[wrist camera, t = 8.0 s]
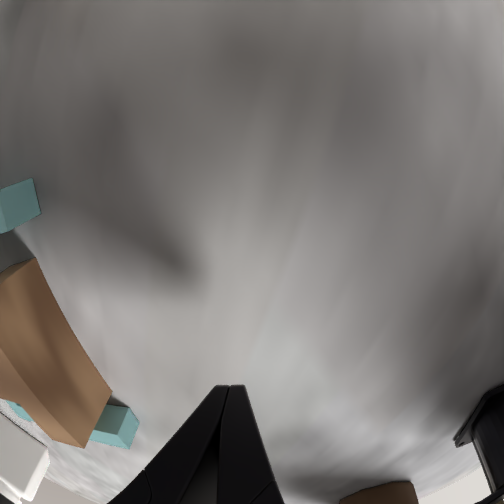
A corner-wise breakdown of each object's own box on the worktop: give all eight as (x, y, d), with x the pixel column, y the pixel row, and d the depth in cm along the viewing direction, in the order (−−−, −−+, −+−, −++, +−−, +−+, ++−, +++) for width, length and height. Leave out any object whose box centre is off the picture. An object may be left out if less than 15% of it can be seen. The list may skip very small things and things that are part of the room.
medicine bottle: (-3, 408, 19) (-48, 482, 8) (48, 447, 20) (10, 528, 9) (5, 430, 21) (-30, 493, 10) (50, 462, 22) (20, 530, 11)
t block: (-30, 281, 12) (-70, 314, 8) (35, 257, 10) (-25, 304, 7) (30, 382, 15) (4, 421, 11) (112, 391, 13) (84, 448, 10)
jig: (141, 425, 14) (131, 451, 13) (30, 399, 16) (18, 416, 14) (30, 171, 9) (-5, 183, 7) (-58, 219, 10) (-80, 230, 8)
